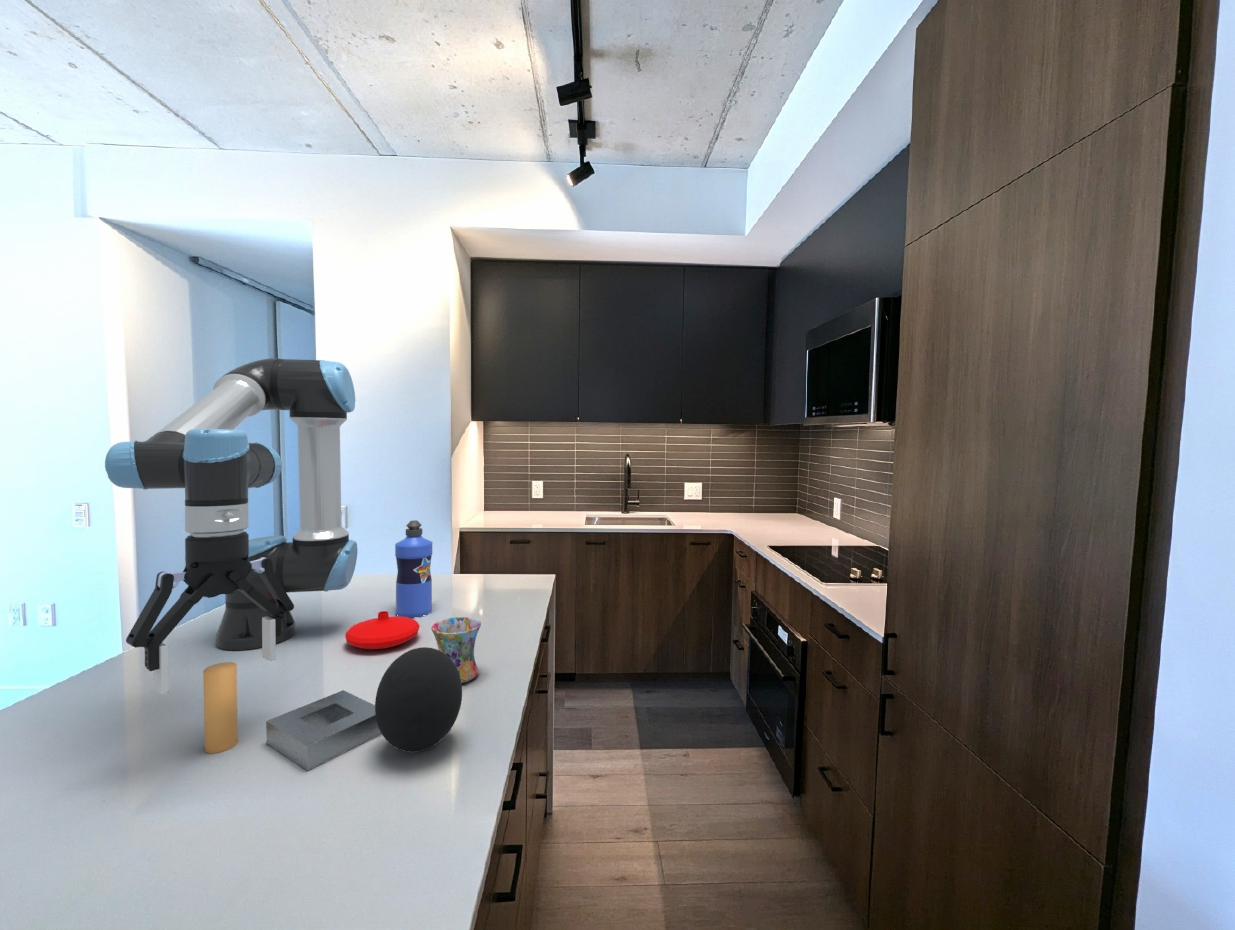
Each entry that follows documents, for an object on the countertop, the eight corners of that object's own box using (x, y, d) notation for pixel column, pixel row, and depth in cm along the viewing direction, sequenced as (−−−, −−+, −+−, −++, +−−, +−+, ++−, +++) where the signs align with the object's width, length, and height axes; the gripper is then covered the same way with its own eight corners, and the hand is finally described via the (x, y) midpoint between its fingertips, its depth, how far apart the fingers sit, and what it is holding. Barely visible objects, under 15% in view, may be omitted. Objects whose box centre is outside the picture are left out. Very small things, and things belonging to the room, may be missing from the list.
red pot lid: (328, 649, 116) (328, 618, 115) (384, 626, 130) (384, 598, 130) (382, 661, 110) (381, 628, 110) (434, 636, 124) (434, 607, 124)
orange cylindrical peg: (200, 747, 78) (198, 669, 78) (230, 735, 82) (229, 660, 81) (211, 756, 76) (209, 676, 76) (242, 743, 80) (241, 666, 79)
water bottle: (439, 609, 144) (439, 519, 143) (416, 620, 135) (416, 524, 134) (412, 605, 147) (412, 517, 146) (387, 615, 138) (387, 522, 137)
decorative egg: (398, 723, 86) (397, 633, 85) (472, 725, 85) (472, 635, 85) (358, 770, 74) (358, 666, 73) (445, 773, 73) (445, 668, 73)
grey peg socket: (266, 743, 80) (266, 720, 80) (343, 709, 90) (343, 690, 90) (307, 770, 73) (307, 746, 73) (385, 731, 83) (385, 710, 83)
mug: (484, 683, 100) (484, 629, 100) (433, 692, 97) (433, 635, 96) (475, 659, 111) (475, 610, 111) (429, 666, 108) (429, 615, 107)
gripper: (112, 548, 65) (115, 715, 66) (316, 525, 86) (317, 652, 87) (94, 541, 69) (96, 699, 70) (293, 521, 90) (294, 642, 91)
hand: (219, 673), depth 78 cm, fingers open, 13 cm apart
